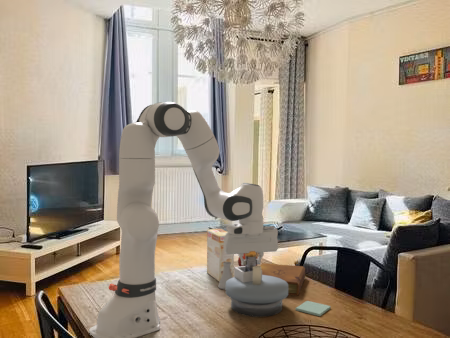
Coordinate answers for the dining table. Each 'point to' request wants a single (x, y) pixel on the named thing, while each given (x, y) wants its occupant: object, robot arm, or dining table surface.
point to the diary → (286, 275)
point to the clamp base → (256, 308)
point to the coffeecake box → (217, 254)
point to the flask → (225, 275)
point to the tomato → (244, 259)
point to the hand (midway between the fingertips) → (250, 264)
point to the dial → (255, 286)
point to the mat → (313, 308)
